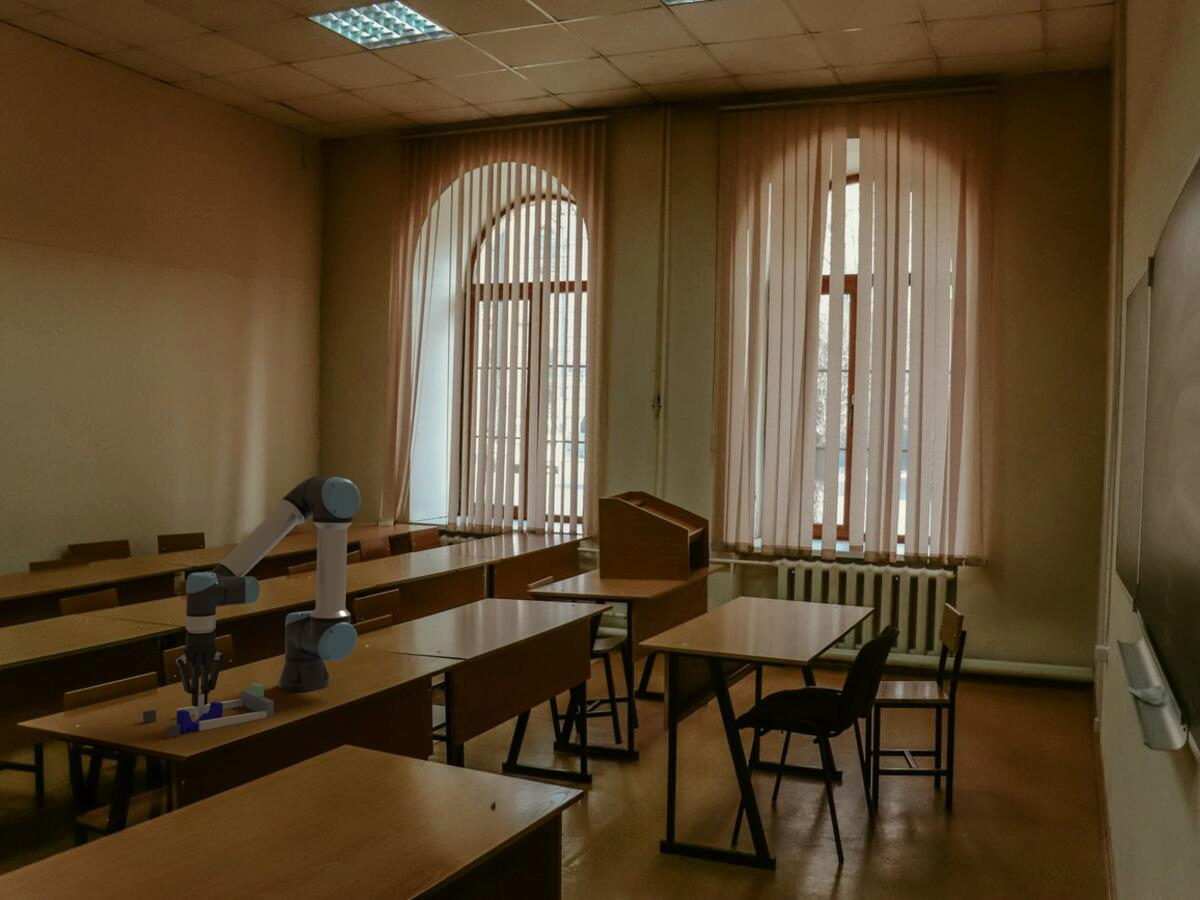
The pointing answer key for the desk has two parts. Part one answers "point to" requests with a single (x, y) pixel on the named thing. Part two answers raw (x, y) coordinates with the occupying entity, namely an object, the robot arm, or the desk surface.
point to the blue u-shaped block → (190, 726)
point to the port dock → (249, 699)
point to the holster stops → (171, 730)
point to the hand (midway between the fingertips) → (199, 717)
